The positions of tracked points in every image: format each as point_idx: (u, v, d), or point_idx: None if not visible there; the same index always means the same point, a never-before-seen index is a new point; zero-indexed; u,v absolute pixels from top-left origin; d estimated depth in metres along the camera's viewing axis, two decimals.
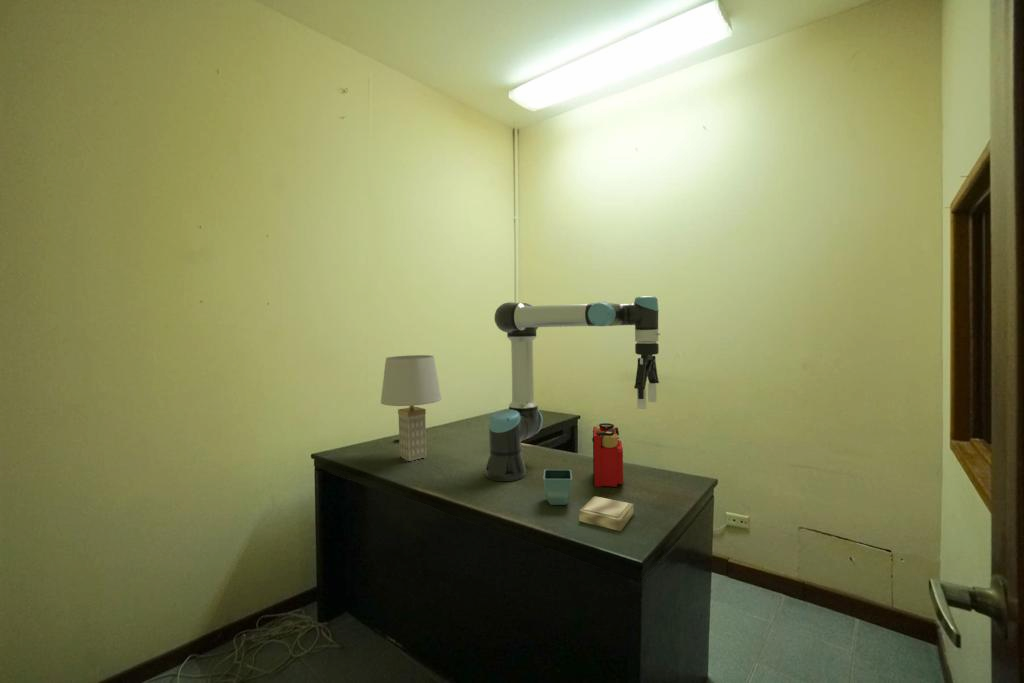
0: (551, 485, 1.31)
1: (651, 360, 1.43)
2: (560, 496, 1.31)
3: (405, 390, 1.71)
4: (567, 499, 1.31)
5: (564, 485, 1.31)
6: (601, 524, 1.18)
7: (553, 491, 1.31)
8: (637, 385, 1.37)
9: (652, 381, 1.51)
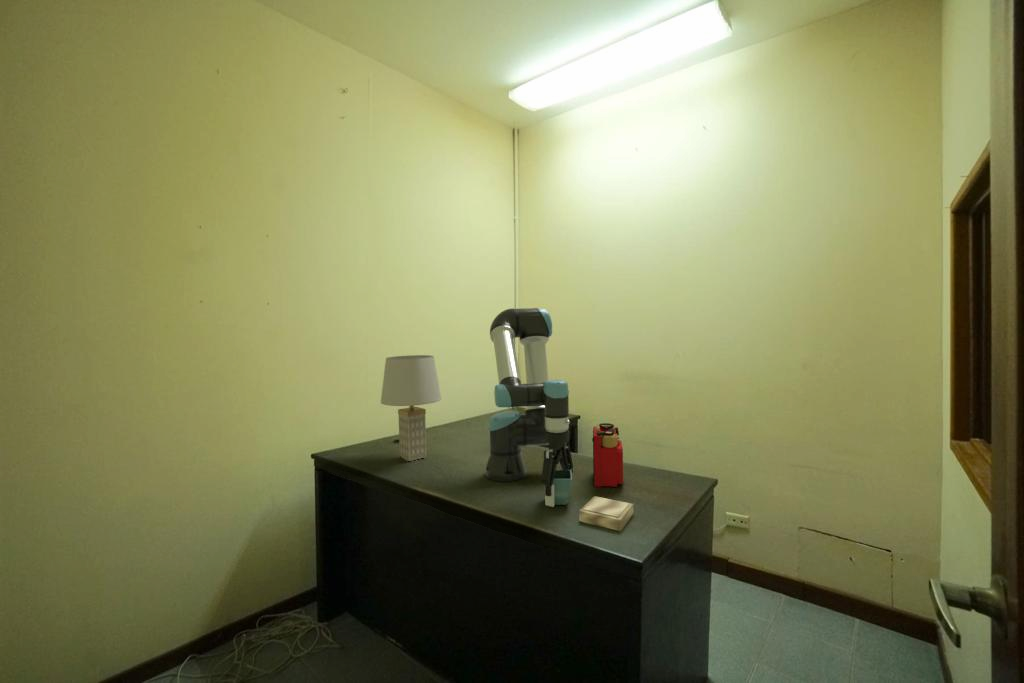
0: None
1: (560, 450, 1.32)
2: (560, 496, 1.31)
3: (405, 390, 1.71)
4: (567, 499, 1.31)
5: (564, 485, 1.31)
6: (601, 524, 1.18)
7: None
8: (543, 482, 1.28)
9: None
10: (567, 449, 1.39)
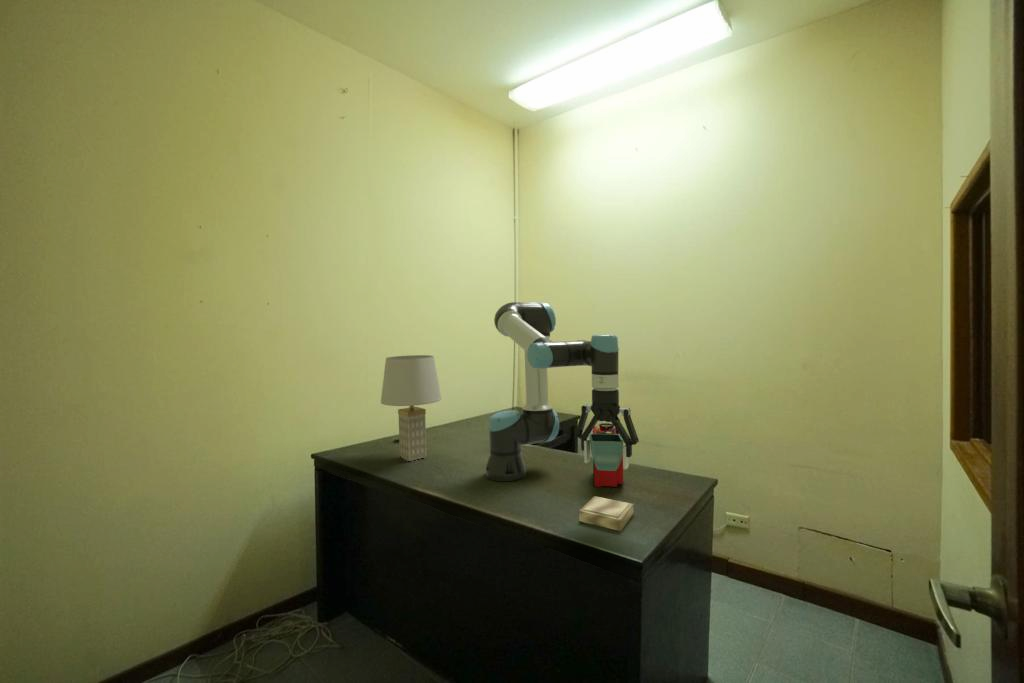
0: (590, 442, 1.25)
1: (597, 409, 1.22)
2: None
3: (405, 390, 1.71)
4: None
5: (591, 446, 1.21)
6: (601, 524, 1.18)
7: (591, 449, 1.25)
8: None
9: None
10: None
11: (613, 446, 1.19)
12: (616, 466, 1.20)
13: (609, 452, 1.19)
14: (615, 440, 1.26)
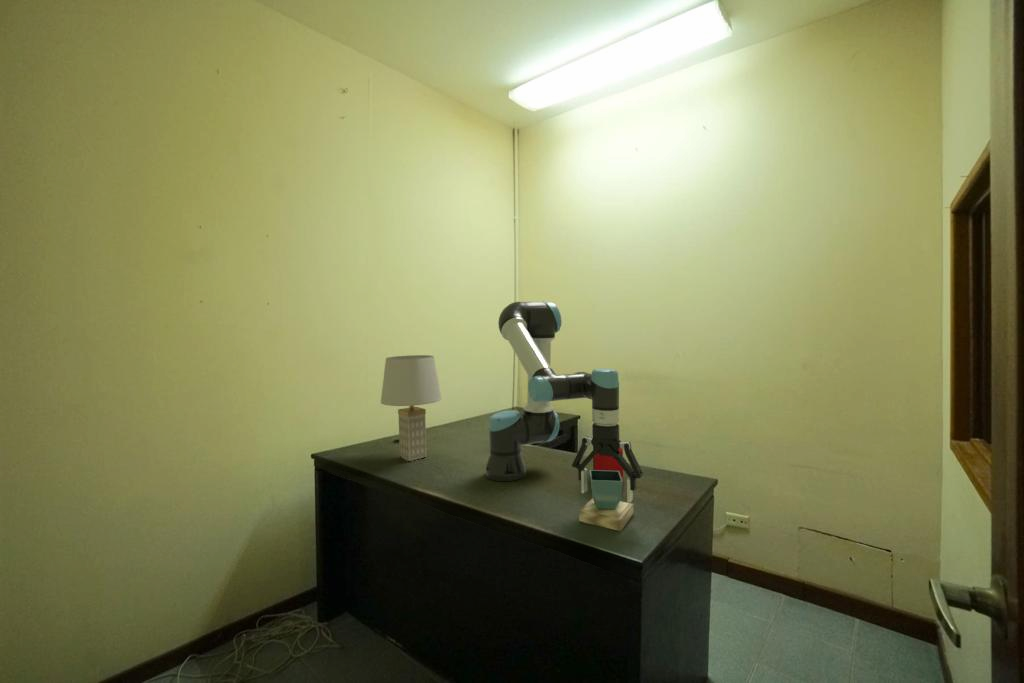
0: (590, 479, 1.26)
1: (598, 444, 1.22)
2: None
3: (405, 390, 1.71)
4: (594, 501, 1.22)
5: None
6: (601, 524, 1.18)
7: None
8: None
9: None
10: None
11: (612, 485, 1.19)
12: (615, 505, 1.20)
13: (608, 491, 1.20)
14: (615, 477, 1.27)
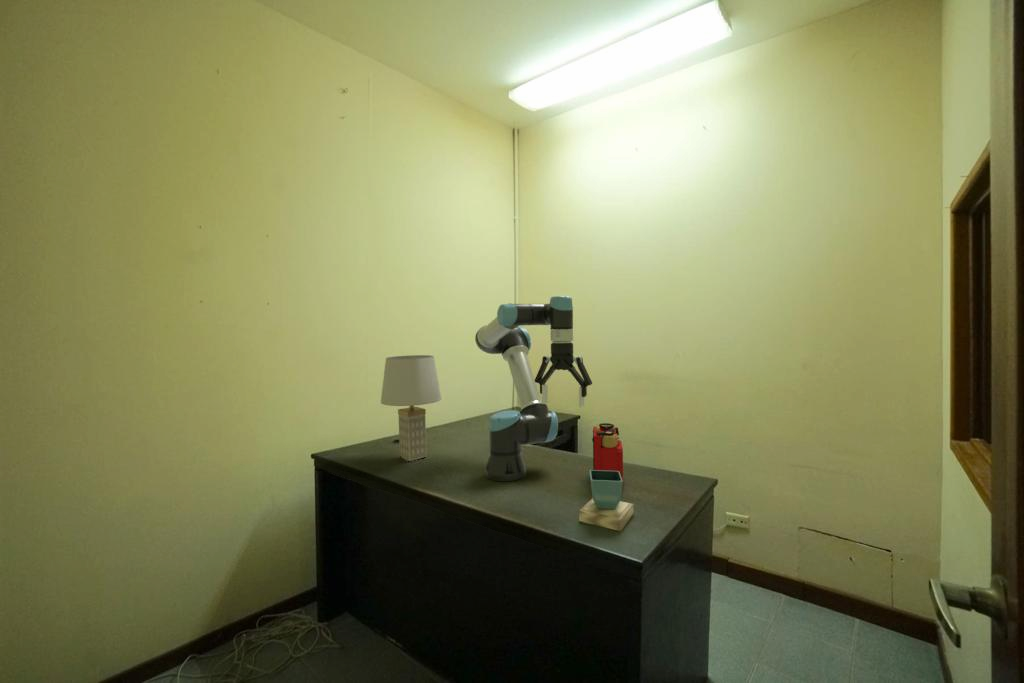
0: (590, 479, 1.26)
1: (555, 360, 1.44)
2: None
3: (405, 390, 1.71)
4: (594, 501, 1.22)
5: None
6: (601, 524, 1.18)
7: None
8: None
9: None
10: None
11: (612, 485, 1.19)
12: (615, 505, 1.20)
13: (608, 491, 1.20)
14: (615, 477, 1.27)
